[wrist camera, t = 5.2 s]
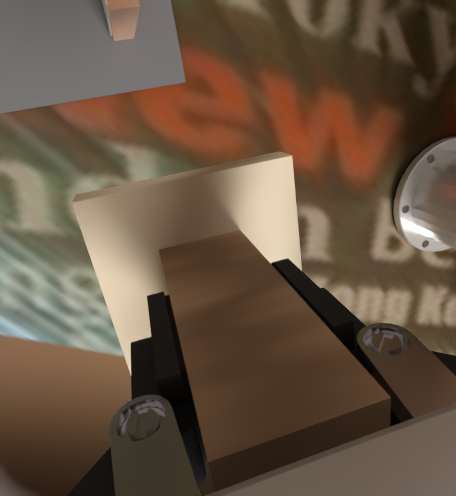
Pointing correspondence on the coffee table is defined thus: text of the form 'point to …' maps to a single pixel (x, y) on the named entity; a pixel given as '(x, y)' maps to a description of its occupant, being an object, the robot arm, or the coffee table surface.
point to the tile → (121, 18)
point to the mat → (81, 52)
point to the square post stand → (232, 311)
